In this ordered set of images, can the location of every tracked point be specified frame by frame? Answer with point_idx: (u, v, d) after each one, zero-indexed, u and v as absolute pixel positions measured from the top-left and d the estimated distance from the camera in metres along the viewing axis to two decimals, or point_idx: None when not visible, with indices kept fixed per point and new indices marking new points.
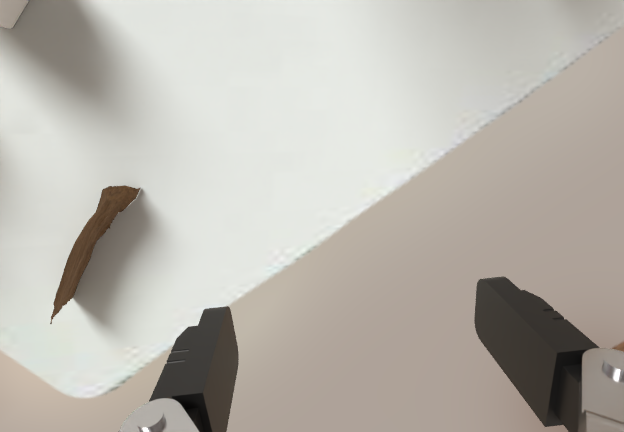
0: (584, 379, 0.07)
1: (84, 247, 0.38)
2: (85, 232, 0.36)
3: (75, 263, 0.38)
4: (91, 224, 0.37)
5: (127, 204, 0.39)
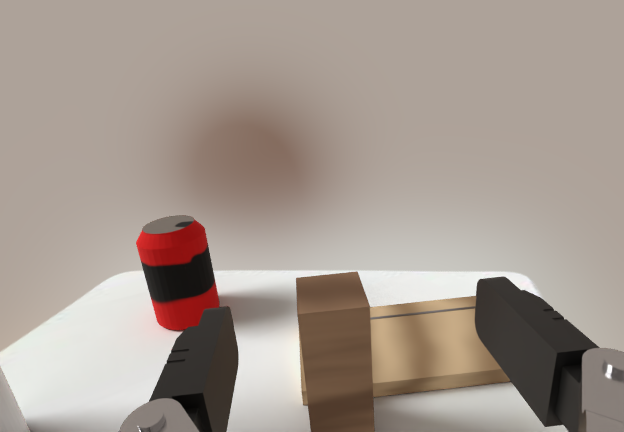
0: (584, 379, 0.07)
1: None
2: None
3: None
4: None
5: None
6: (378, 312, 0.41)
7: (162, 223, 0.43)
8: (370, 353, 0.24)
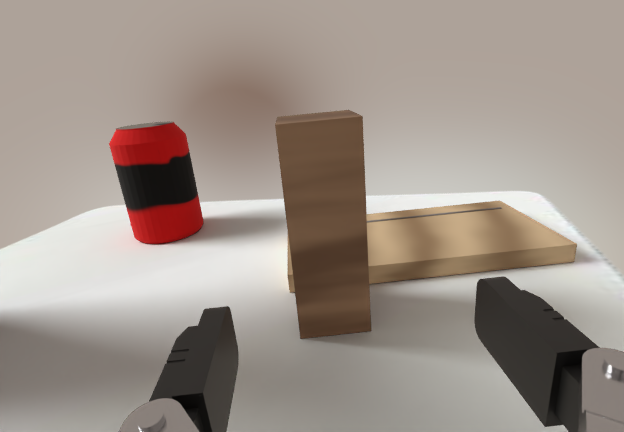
0: (584, 379, 0.07)
1: None
2: None
3: None
4: None
5: None
6: (375, 217, 0.37)
7: (138, 125, 0.39)
8: (363, 183, 0.20)
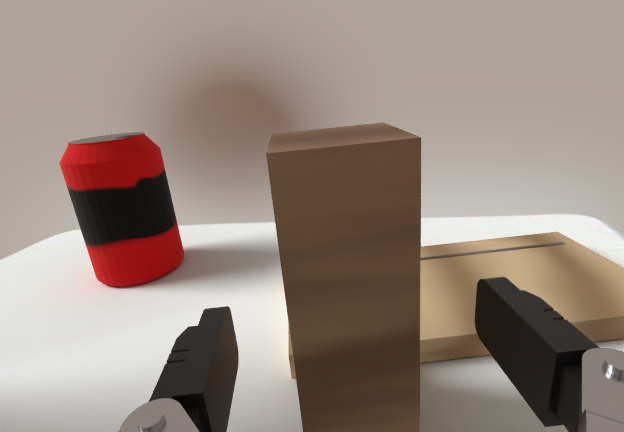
0: (584, 379, 0.07)
1: None
2: None
3: None
4: None
5: None
6: None
7: (99, 138, 0.31)
8: (418, 249, 0.12)
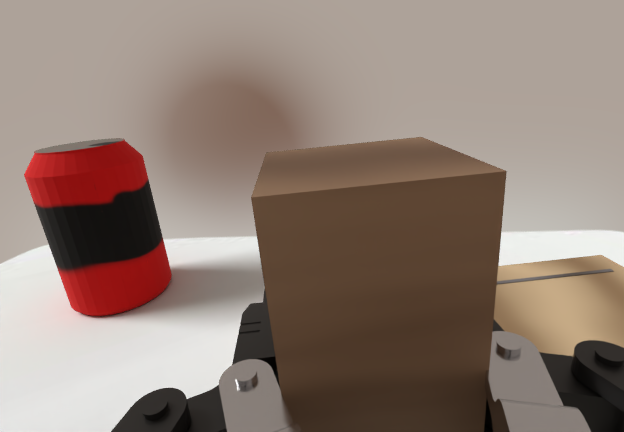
0: None
1: None
2: None
3: None
4: None
5: None
6: None
7: (72, 145, 0.27)
8: (488, 339, 0.08)
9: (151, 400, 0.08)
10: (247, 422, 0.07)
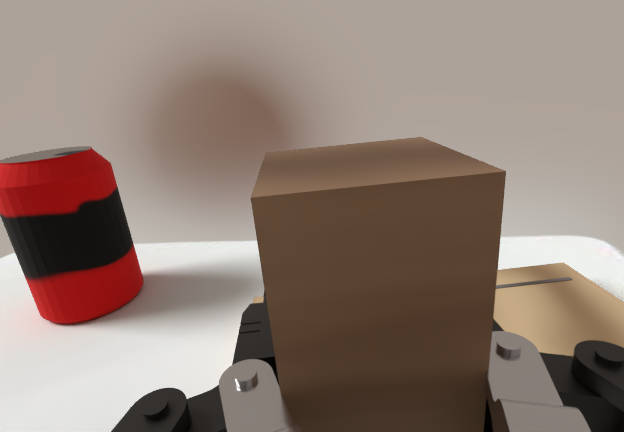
0: None
1: None
2: None
3: None
4: None
5: None
6: None
7: (38, 154, 0.27)
8: (488, 339, 0.08)
9: (151, 400, 0.08)
10: (247, 422, 0.07)
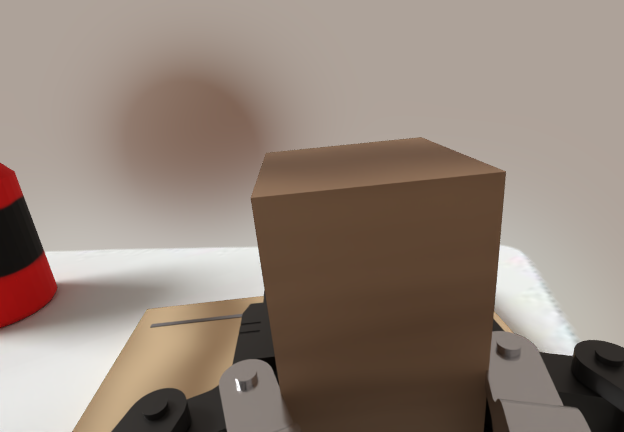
0: None
1: None
2: None
3: None
4: None
5: None
6: None
7: None
8: (488, 340, 0.08)
9: (151, 400, 0.08)
10: (247, 422, 0.07)
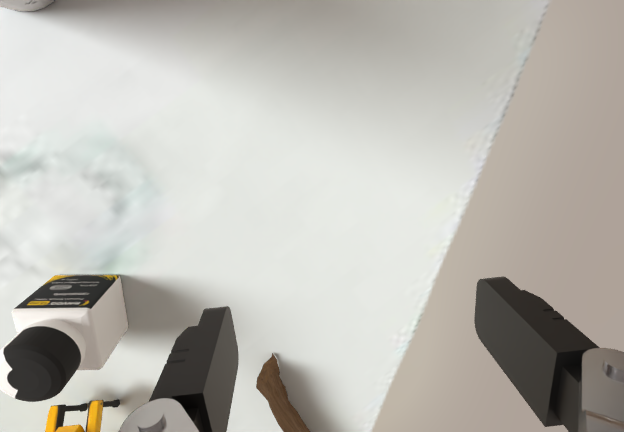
0: (584, 379, 0.07)
1: (286, 414, 0.47)
2: (276, 410, 0.45)
3: (292, 427, 0.47)
4: (274, 402, 0.45)
5: (277, 367, 0.47)
6: None
7: None
8: None
9: None
10: None
